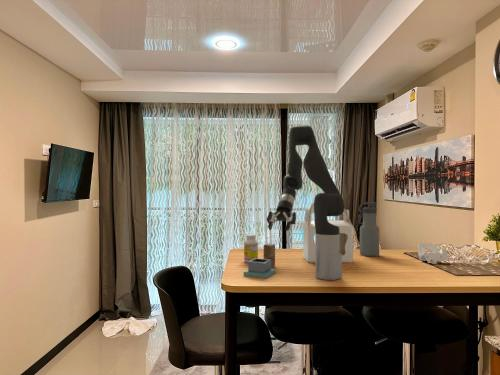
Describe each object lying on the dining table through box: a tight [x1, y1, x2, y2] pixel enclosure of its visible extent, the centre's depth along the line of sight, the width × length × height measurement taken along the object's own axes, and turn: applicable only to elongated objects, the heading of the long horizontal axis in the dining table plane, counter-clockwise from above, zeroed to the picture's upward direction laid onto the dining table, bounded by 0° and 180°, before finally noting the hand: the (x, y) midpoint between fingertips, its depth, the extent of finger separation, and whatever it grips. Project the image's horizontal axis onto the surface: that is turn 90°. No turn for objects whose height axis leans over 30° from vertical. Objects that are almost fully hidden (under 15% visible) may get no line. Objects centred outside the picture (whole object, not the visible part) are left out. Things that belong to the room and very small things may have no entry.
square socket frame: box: [247, 257, 272, 273], centre depth 137 cm, size 7×7×4 cm
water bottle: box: [357, 201, 380, 257], centre depth 178 cm, size 10×10×28 cm
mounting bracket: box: [416, 243, 453, 263], centre depth 160 cm, size 12×6×11 cm, turn 88°
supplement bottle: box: [243, 233, 259, 263], centre depth 161 cm, size 7×7×13 cm
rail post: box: [263, 243, 276, 269], centre depth 150 cm, size 4×4×10 cm
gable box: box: [302, 202, 354, 263], centre depth 166 cm, size 22×13×28 cm, turn 91°
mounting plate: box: [243, 268, 276, 279], centre depth 137 cm, size 10×10×2 cm
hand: (278, 229), depth 160 cm, fingers open, 8 cm apart
